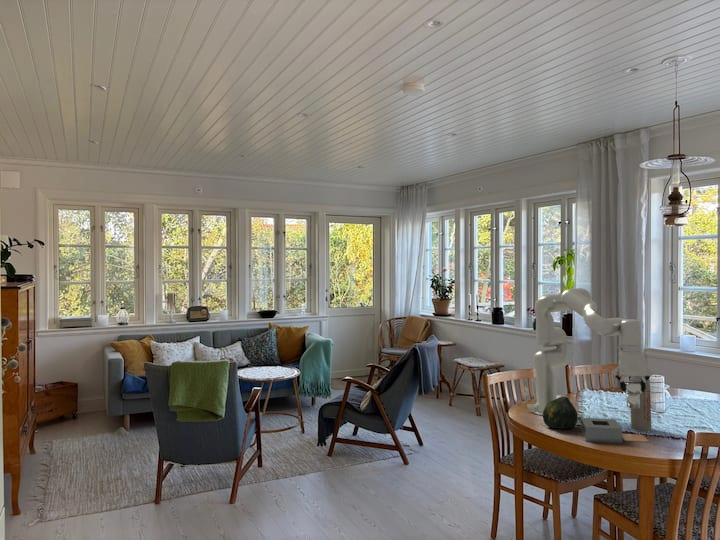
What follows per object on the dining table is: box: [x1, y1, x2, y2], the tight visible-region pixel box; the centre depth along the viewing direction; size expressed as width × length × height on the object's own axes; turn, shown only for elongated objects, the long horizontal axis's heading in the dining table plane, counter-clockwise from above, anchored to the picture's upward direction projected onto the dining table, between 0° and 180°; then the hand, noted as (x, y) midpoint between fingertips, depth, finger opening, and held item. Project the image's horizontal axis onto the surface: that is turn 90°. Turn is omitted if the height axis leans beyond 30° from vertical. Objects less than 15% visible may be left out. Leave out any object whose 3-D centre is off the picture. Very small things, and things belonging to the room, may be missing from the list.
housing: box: [580, 417, 623, 444], centre depth 226 cm, size 14×14×6 cm
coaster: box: [622, 433, 649, 443], centre depth 224 cm, size 9×9×1 cm
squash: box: [542, 396, 578, 430], centre depth 242 cm, size 14×15×15 cm
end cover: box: [623, 380, 642, 409], centre depth 224 cm, size 7×7×10 cm
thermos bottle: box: [629, 373, 652, 433], centre depth 236 cm, size 8×8×28 cm
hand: (632, 390), depth 224 cm, fingers closed on end cover, 6 cm apart
